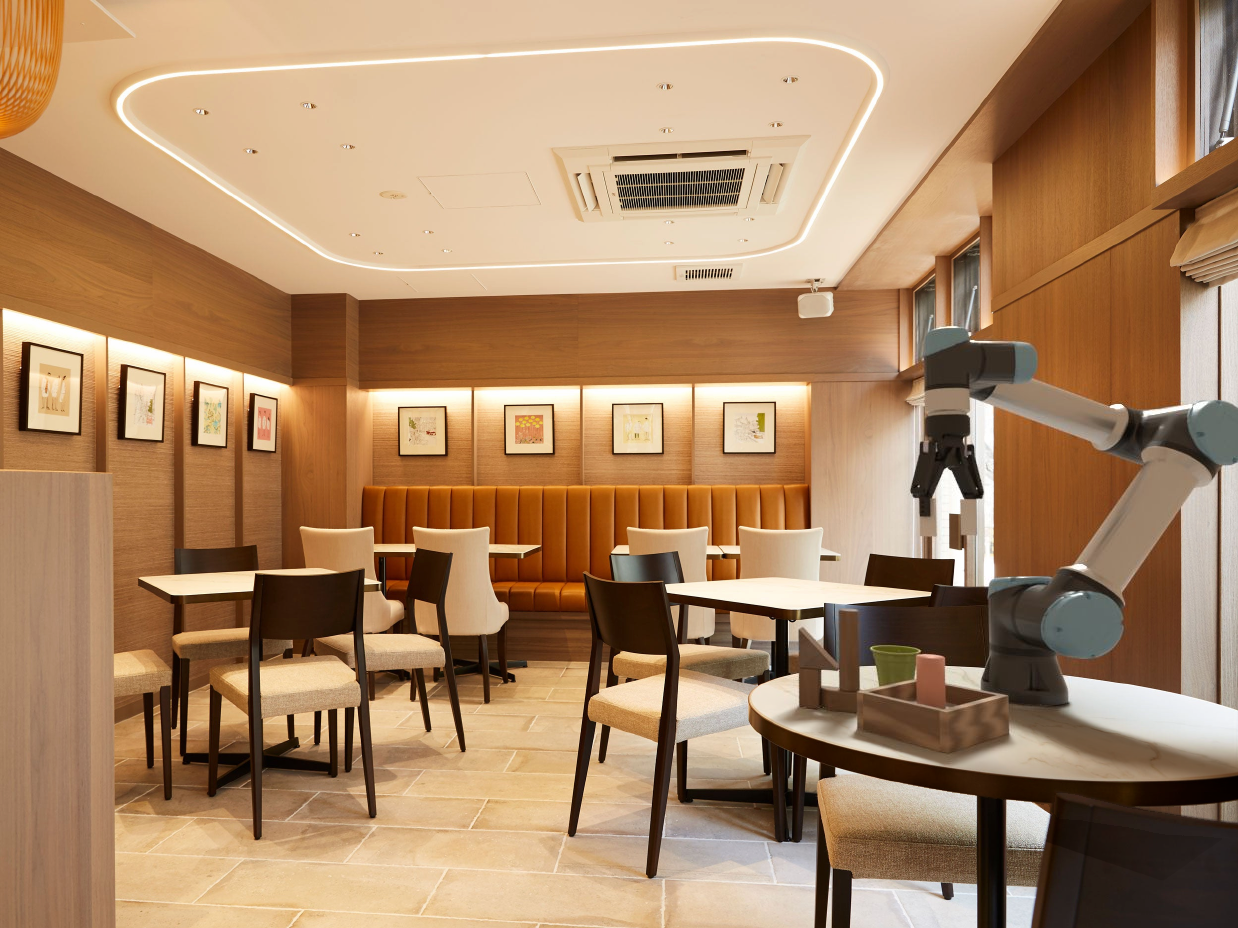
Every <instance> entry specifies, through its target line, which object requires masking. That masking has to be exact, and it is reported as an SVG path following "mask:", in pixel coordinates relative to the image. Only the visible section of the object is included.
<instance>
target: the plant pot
mask: <svg viewBox="0 0 1238 928" xmlns="http://www.w3.org/2000/svg"><path fill="white" fill-rule="evenodd" d="M869 649H870V651H871V652H872V657H873V659H874V662H875V667H876V674H877V675H876V676H877V681H878V687H881V686H885V685H890V684H895V683H899V682H904V681H909V680H913V679H916V655H920V654H921V652H922V651H921V650H920V649H919V648H916V647H913V646H912V647H911V646H903V645H902V646H901V645H874V646H871V647H870V648H869Z"/></svg>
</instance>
